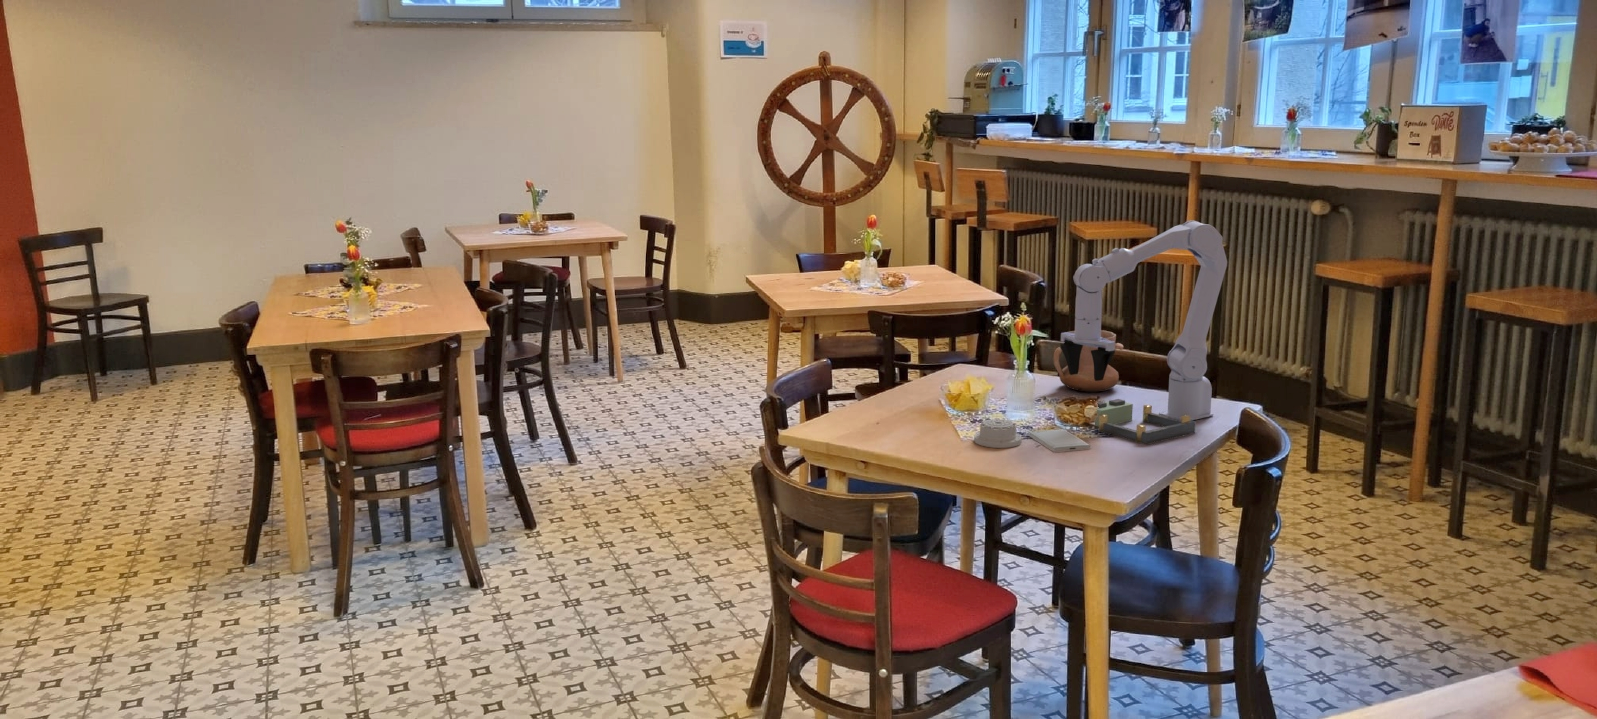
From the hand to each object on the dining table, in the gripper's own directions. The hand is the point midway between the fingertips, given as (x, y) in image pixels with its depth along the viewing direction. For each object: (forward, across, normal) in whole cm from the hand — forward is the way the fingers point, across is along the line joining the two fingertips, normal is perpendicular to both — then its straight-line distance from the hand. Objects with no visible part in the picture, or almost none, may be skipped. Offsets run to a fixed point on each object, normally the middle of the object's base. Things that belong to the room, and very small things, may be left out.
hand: (1086, 377), depth 263 cm
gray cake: (+10, +3, -29) cm, 31 cm away
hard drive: (+10, +11, -19) cm, 24 cm away
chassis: (+10, +15, +2) cm, 18 cm away
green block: (+10, +5, +2) cm, 11 cm away
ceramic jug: (+10, -20, +21) cm, 30 cm away
